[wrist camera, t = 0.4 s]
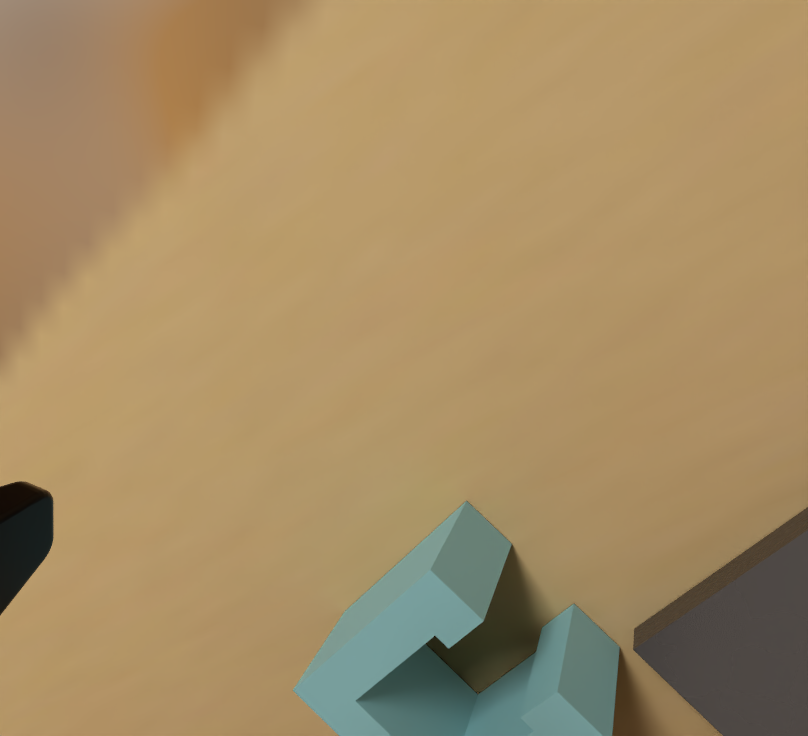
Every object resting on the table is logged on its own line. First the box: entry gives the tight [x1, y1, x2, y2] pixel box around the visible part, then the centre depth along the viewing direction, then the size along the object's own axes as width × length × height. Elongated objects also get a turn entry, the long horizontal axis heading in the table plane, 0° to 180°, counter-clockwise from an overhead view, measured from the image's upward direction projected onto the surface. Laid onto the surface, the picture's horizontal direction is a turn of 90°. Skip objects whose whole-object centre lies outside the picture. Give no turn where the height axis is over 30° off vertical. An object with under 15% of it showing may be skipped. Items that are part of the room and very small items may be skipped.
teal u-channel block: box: [293, 501, 620, 736], centre depth 23 cm, size 6×6×4 cm
